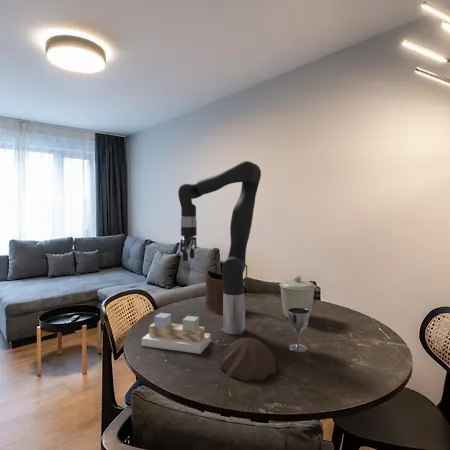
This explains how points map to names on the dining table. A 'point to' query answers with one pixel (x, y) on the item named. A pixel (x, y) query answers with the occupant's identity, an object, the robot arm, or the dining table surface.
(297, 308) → the wine glass
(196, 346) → the dock
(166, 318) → the block
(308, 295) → the canister
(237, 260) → the robot arm
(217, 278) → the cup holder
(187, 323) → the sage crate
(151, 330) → the pallet
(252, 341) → the decorative dome
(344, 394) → the dining table surface
